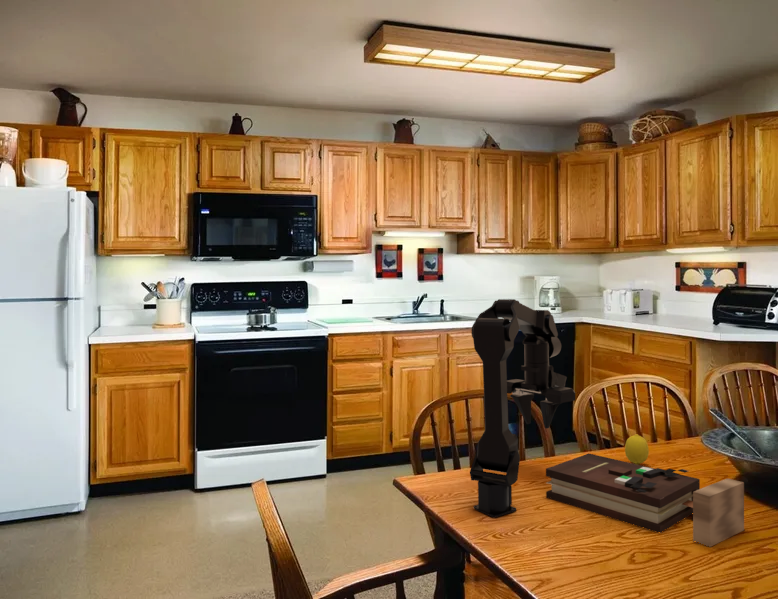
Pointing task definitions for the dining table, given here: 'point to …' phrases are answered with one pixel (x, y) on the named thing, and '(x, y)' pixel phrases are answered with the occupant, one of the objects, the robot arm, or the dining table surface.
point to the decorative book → (624, 490)
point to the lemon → (636, 449)
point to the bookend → (718, 511)
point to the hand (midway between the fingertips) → (537, 425)
